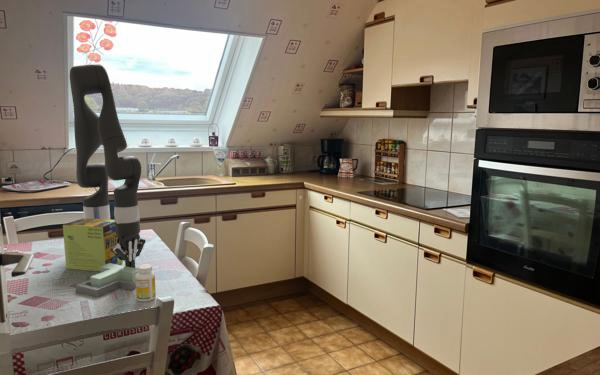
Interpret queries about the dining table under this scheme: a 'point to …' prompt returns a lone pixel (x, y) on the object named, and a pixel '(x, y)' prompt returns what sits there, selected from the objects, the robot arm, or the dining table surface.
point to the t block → (113, 274)
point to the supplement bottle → (145, 283)
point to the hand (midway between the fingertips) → (130, 271)
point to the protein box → (90, 244)
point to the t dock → (94, 291)
